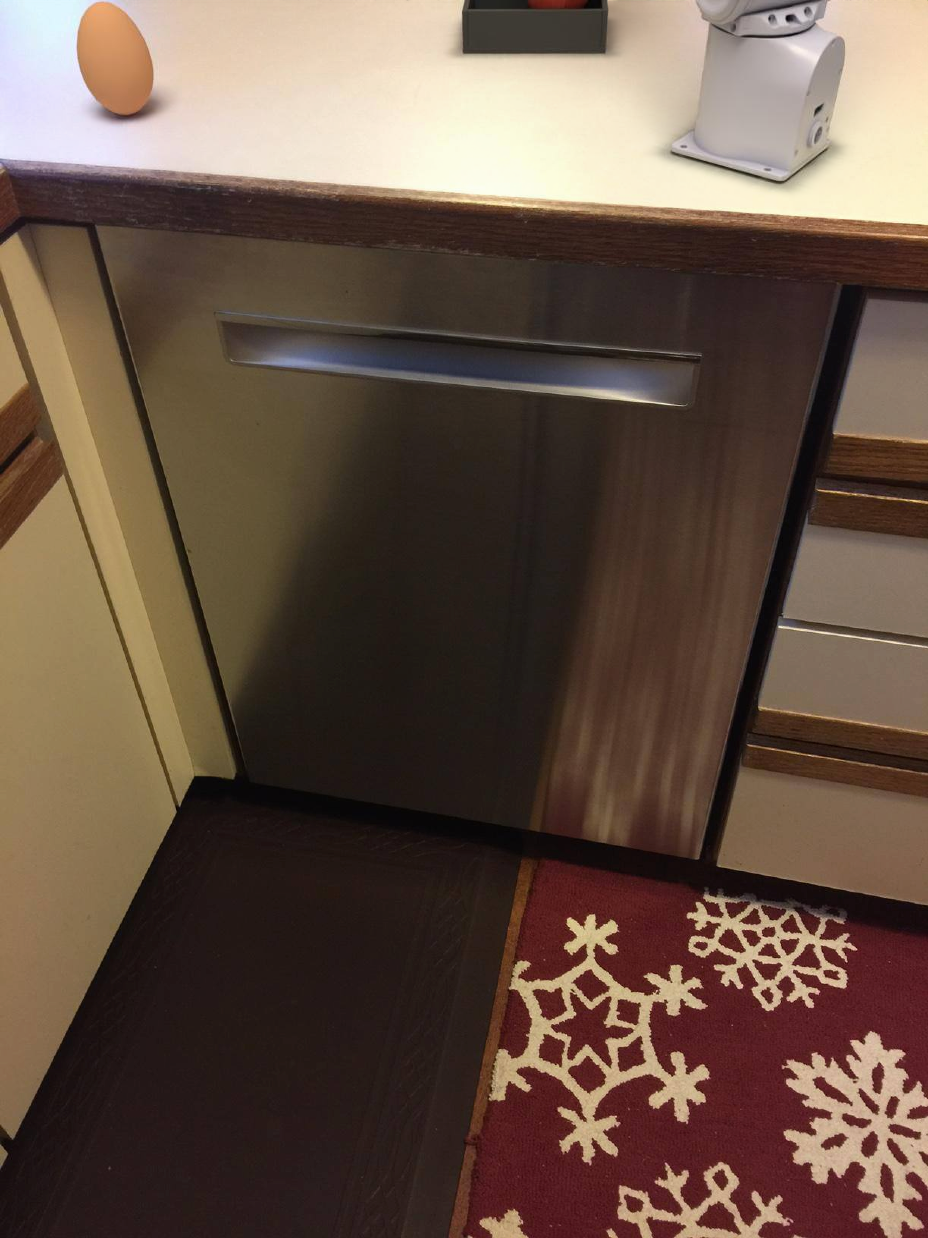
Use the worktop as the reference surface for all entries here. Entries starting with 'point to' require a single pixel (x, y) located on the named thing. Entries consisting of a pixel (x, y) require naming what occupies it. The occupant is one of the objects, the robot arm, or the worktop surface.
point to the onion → (557, 4)
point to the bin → (533, 27)
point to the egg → (114, 59)
